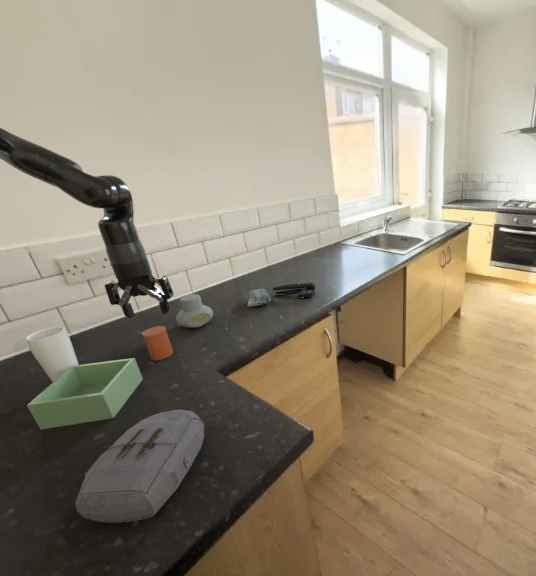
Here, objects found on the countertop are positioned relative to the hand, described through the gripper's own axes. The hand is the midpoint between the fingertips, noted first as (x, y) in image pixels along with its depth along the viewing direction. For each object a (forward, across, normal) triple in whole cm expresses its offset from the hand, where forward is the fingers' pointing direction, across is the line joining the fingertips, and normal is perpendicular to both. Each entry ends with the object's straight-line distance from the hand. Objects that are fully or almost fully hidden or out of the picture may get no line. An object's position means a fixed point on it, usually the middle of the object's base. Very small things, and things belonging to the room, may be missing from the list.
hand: (148, 314), depth 87 cm
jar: (+13, 0, 0) cm, 13 cm away
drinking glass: (+13, +18, +9) cm, 24 cm away
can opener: (+13, -36, -34) cm, 51 cm away
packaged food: (+13, -22, -30) cm, 39 cm away
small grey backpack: (+13, -15, +41) cm, 46 cm away
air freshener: (+13, -4, -18) cm, 23 cm away
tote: (+13, +7, +18) cm, 23 cm away
